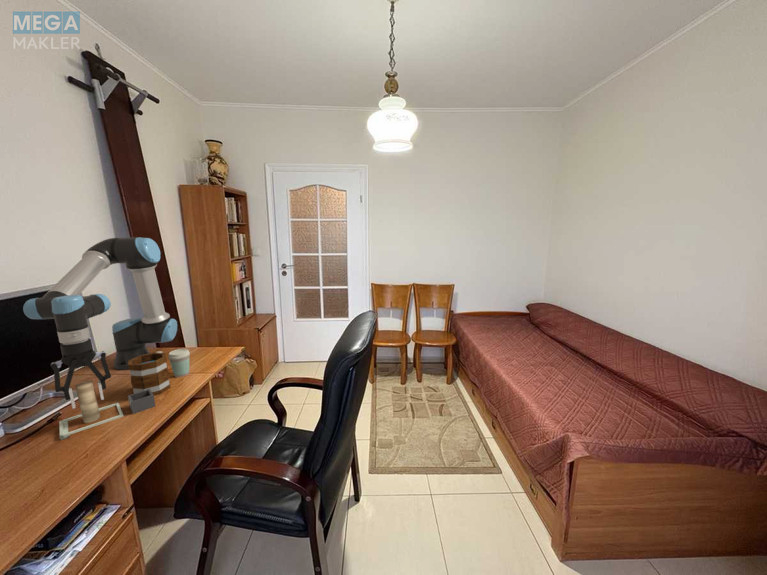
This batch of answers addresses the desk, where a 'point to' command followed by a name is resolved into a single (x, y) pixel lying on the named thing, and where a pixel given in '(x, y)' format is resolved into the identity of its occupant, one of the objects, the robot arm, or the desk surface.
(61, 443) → the desk surface
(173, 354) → the coffee cup
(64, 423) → the tray
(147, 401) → the pen cup
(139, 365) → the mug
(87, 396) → the dowel
